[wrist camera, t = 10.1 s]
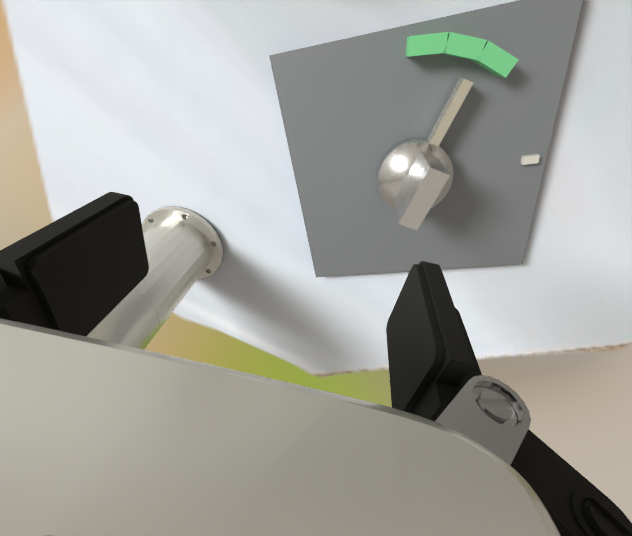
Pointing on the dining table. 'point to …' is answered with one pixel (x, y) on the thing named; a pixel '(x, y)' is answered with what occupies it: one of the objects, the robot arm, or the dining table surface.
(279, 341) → the dining table surface
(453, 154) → the dial board
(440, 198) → the knob
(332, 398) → the robot arm
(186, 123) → the dining table surface
